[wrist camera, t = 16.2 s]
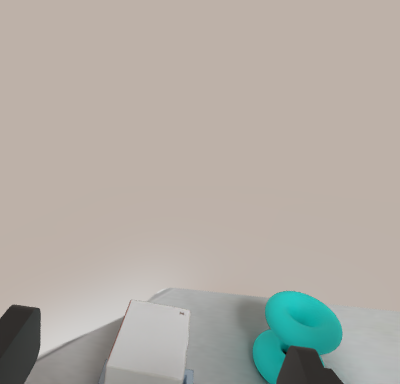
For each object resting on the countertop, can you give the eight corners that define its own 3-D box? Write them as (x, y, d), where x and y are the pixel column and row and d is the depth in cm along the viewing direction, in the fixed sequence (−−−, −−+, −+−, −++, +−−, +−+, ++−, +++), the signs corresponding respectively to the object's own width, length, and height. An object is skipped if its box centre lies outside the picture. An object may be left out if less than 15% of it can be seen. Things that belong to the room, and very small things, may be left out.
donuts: (278, 278, 47) (347, 308, 43) (262, 329, 50) (325, 361, 47) (258, 314, 39) (342, 355, 35) (240, 373, 42) (315, 417, 38)
